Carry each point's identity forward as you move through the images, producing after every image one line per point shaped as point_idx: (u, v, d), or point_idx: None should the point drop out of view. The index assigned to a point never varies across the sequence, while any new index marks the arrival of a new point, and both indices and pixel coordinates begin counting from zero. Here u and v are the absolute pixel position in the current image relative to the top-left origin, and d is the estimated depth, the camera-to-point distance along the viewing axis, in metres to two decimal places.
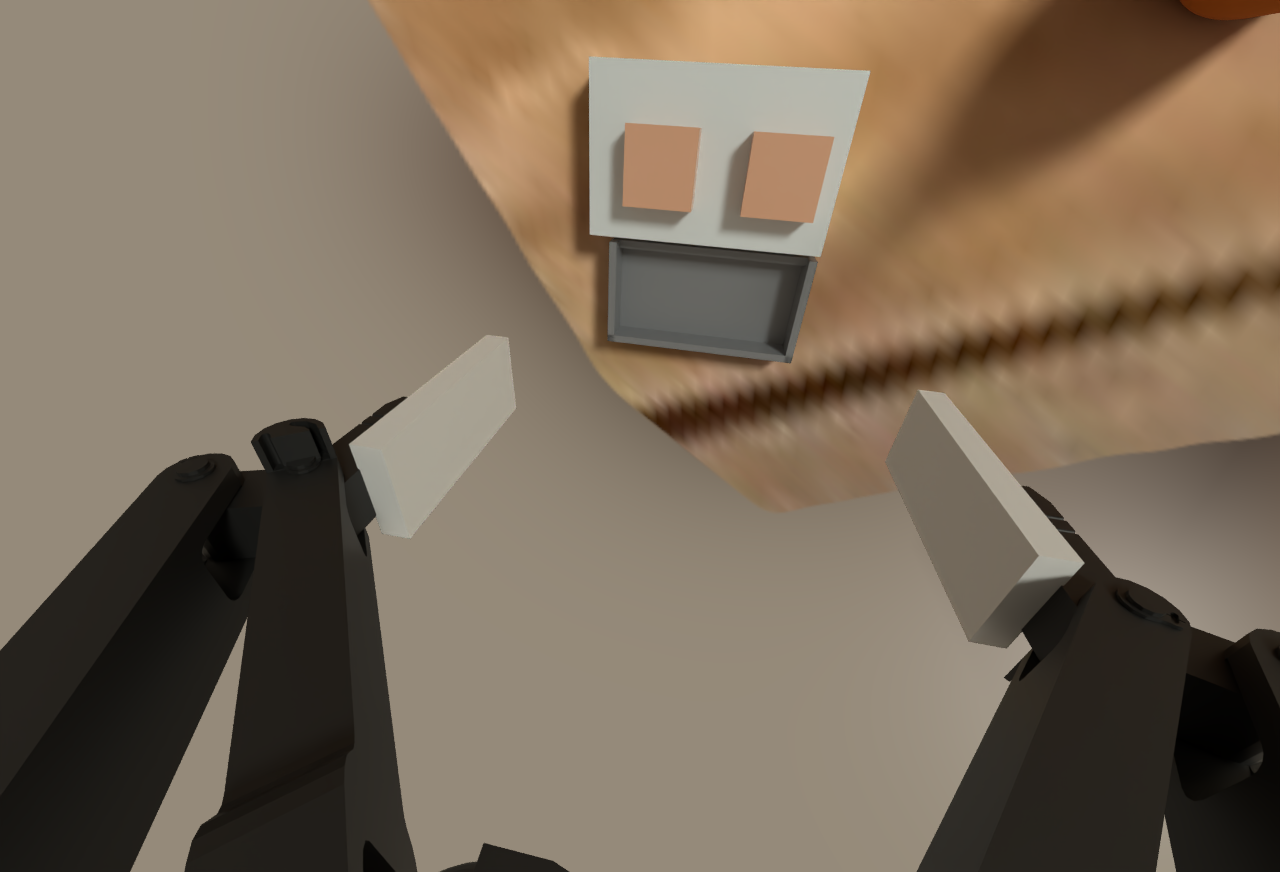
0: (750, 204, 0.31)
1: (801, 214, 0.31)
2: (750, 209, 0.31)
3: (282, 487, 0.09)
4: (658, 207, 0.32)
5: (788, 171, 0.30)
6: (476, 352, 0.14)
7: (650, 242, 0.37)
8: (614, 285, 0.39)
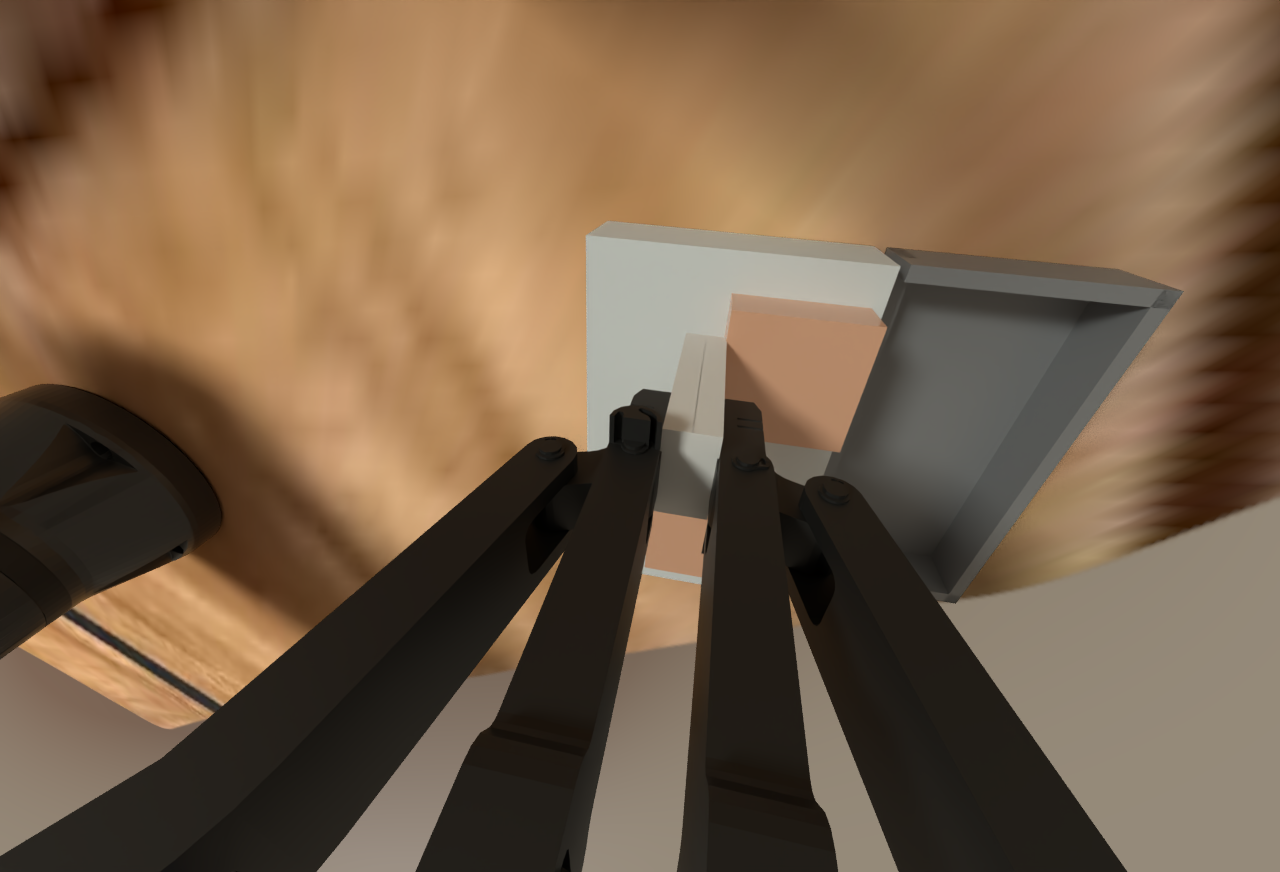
0: (822, 437, 0.17)
1: (862, 351, 0.15)
2: (830, 437, 0.17)
3: (615, 460, 0.10)
4: None
5: (777, 381, 0.16)
6: (692, 348, 0.15)
7: None
8: None
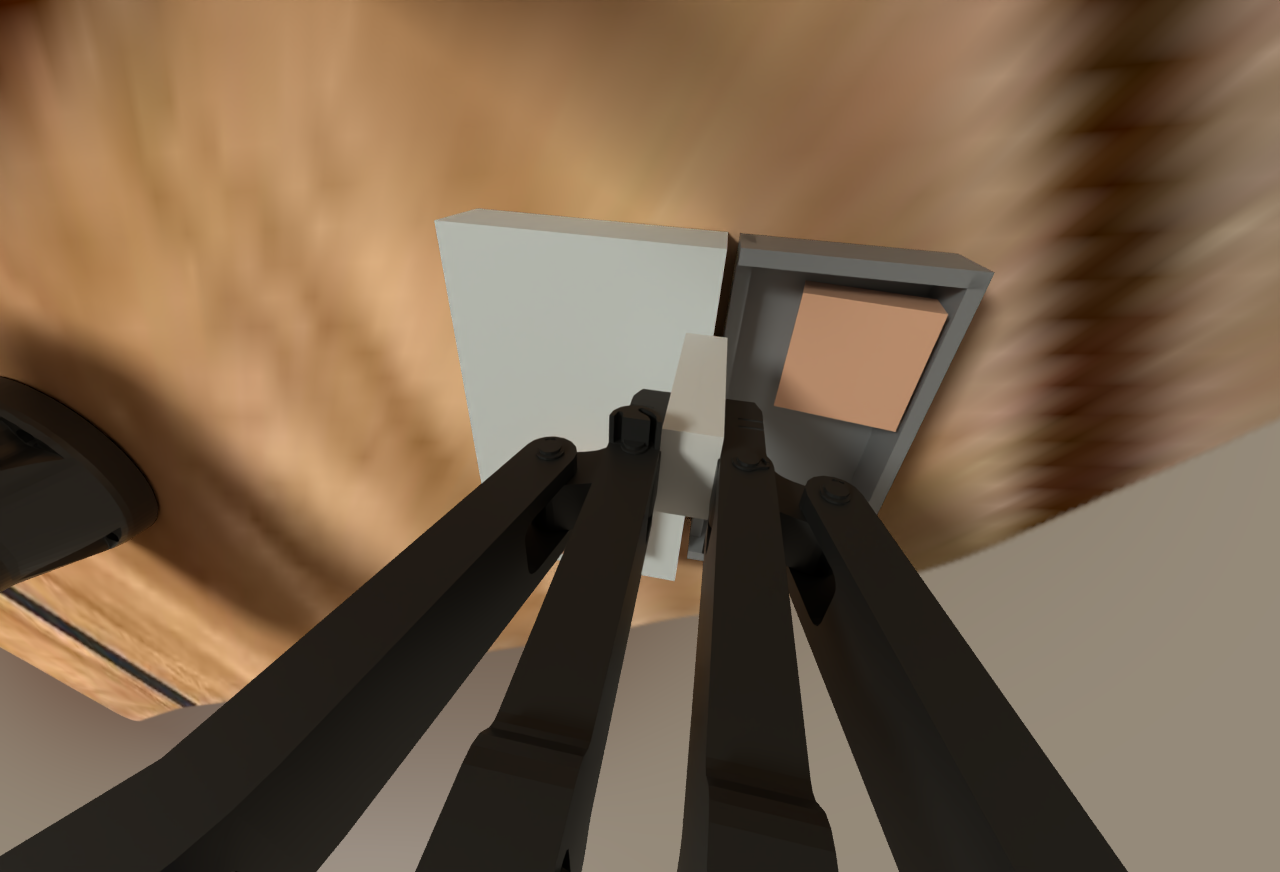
0: None
1: None
2: None
3: (614, 460, 0.10)
4: None
5: None
6: (692, 348, 0.15)
7: None
8: None
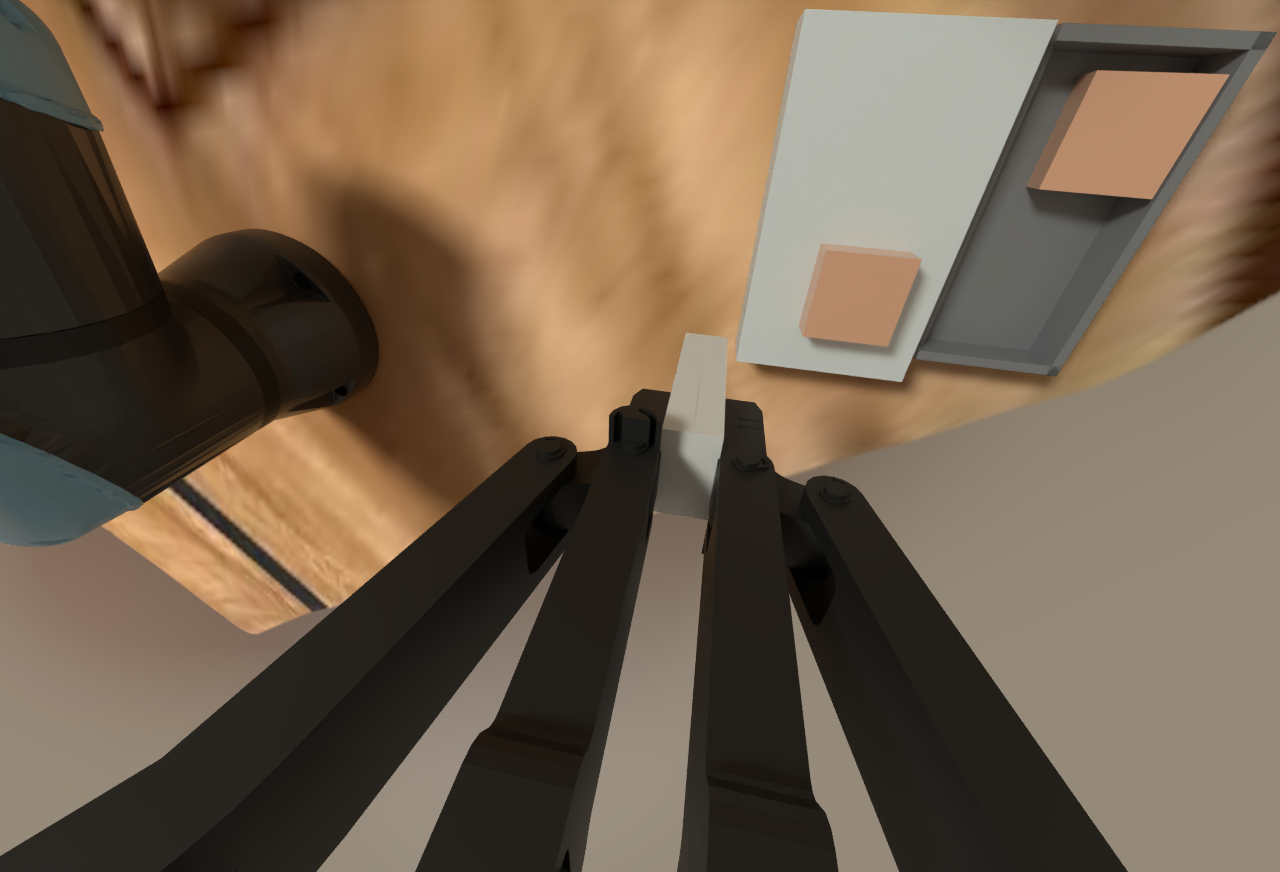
0: None
1: None
2: None
3: (614, 460, 0.10)
4: (902, 302, 0.26)
5: None
6: (692, 348, 0.15)
7: None
8: (975, 358, 0.29)
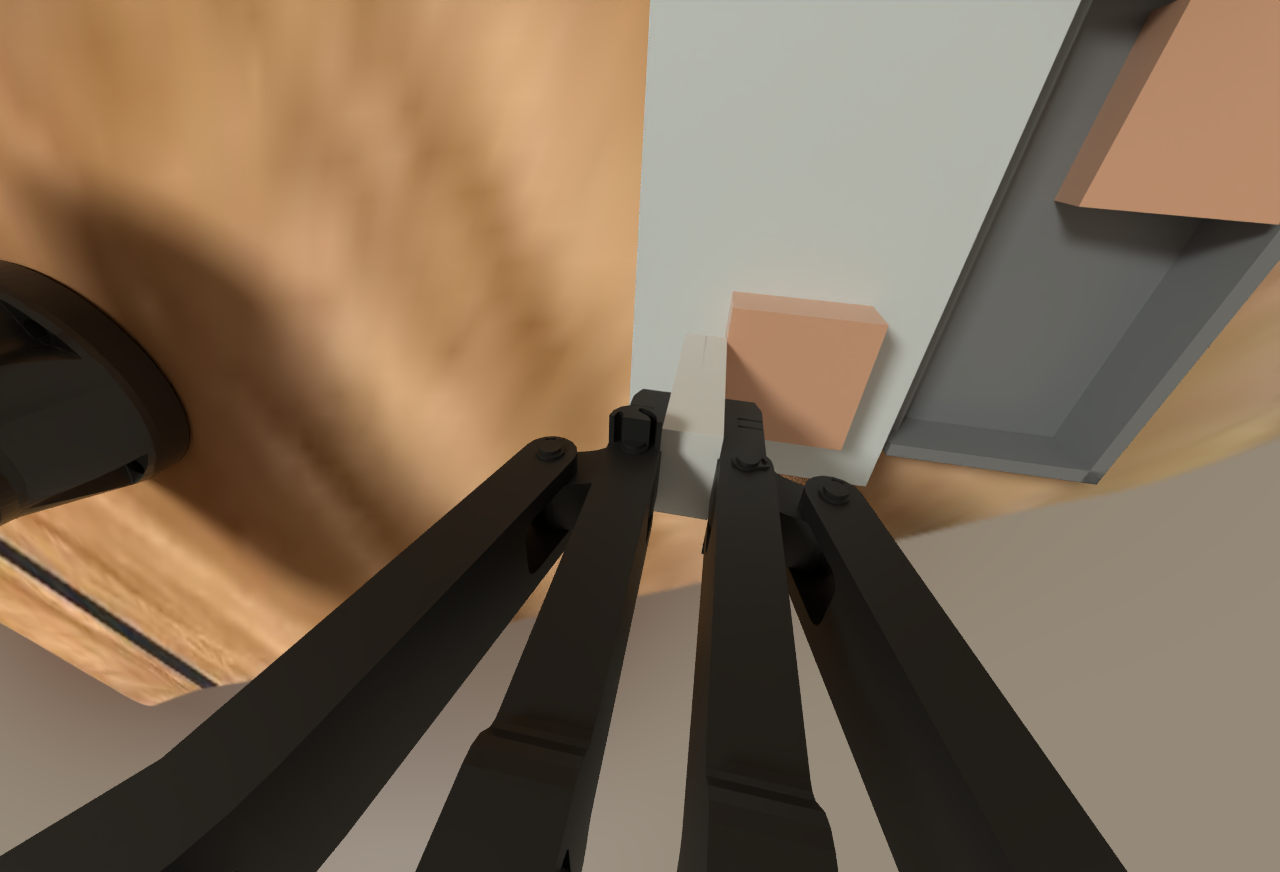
0: None
1: None
2: None
3: (614, 460, 0.10)
4: (860, 389, 0.16)
5: None
6: (692, 348, 0.15)
7: None
8: (974, 456, 0.19)
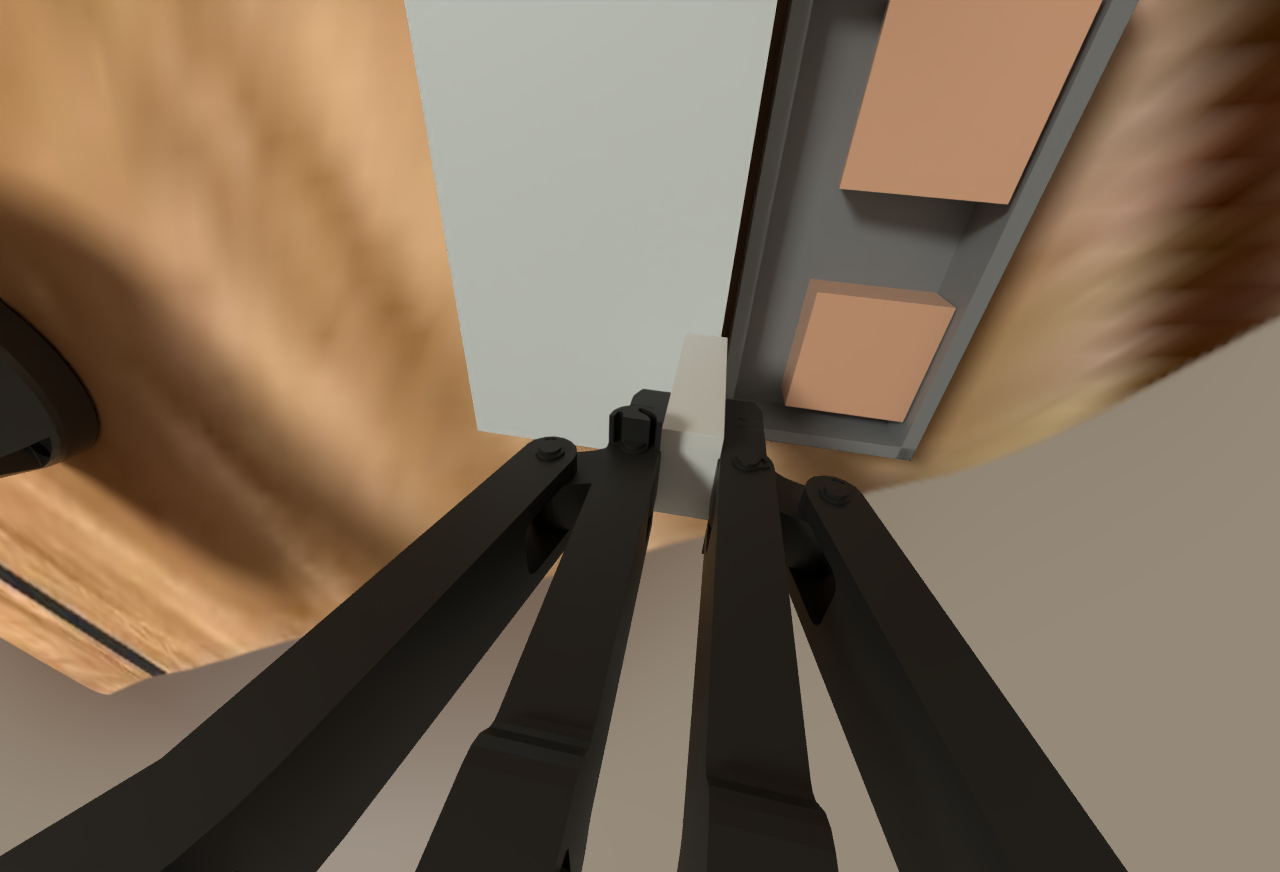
0: None
1: None
2: None
3: (614, 460, 0.10)
4: None
5: None
6: (692, 348, 0.15)
7: (728, 356, 0.20)
8: (795, 434, 0.20)
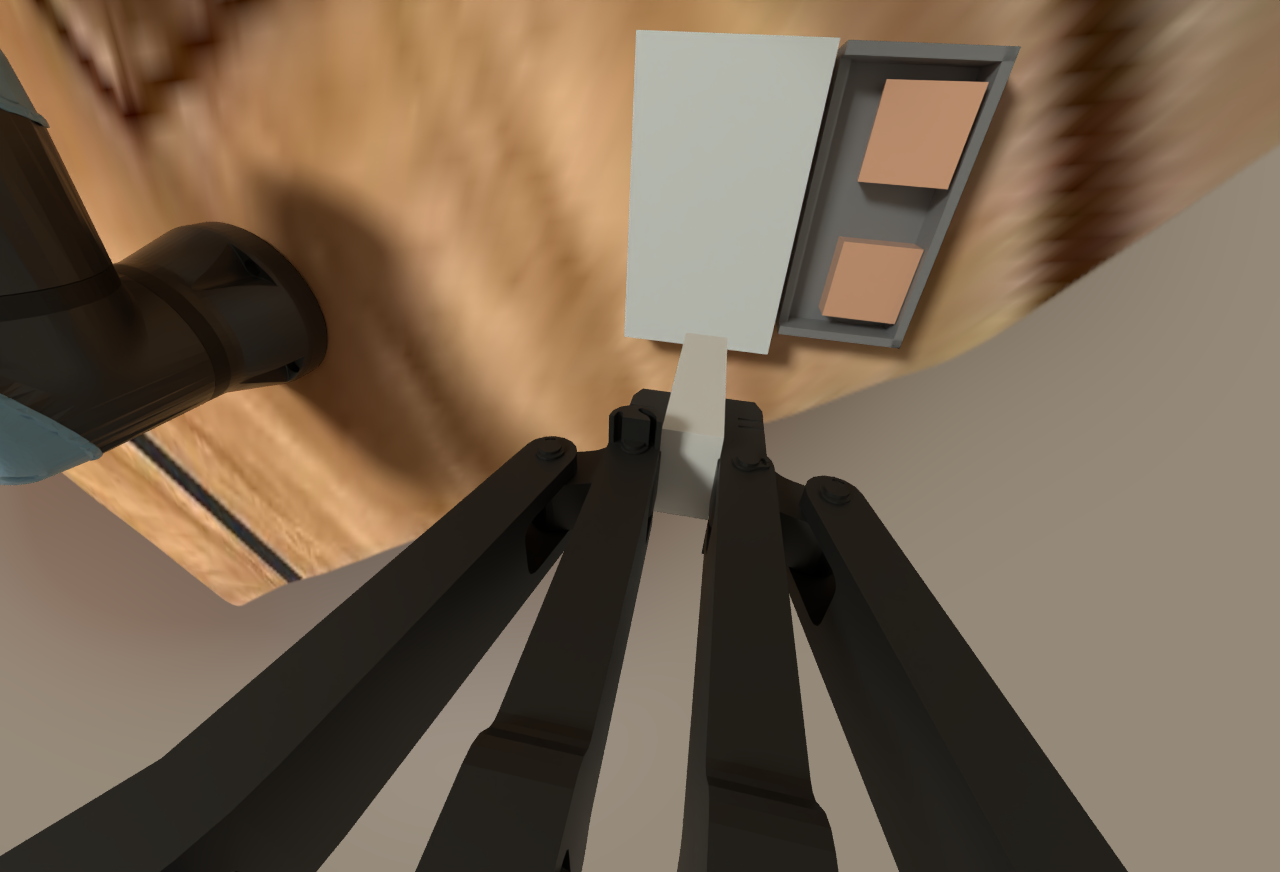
0: None
1: None
2: None
3: (614, 460, 0.10)
4: None
5: None
6: (692, 348, 0.15)
7: (787, 285, 0.33)
8: (828, 332, 0.33)
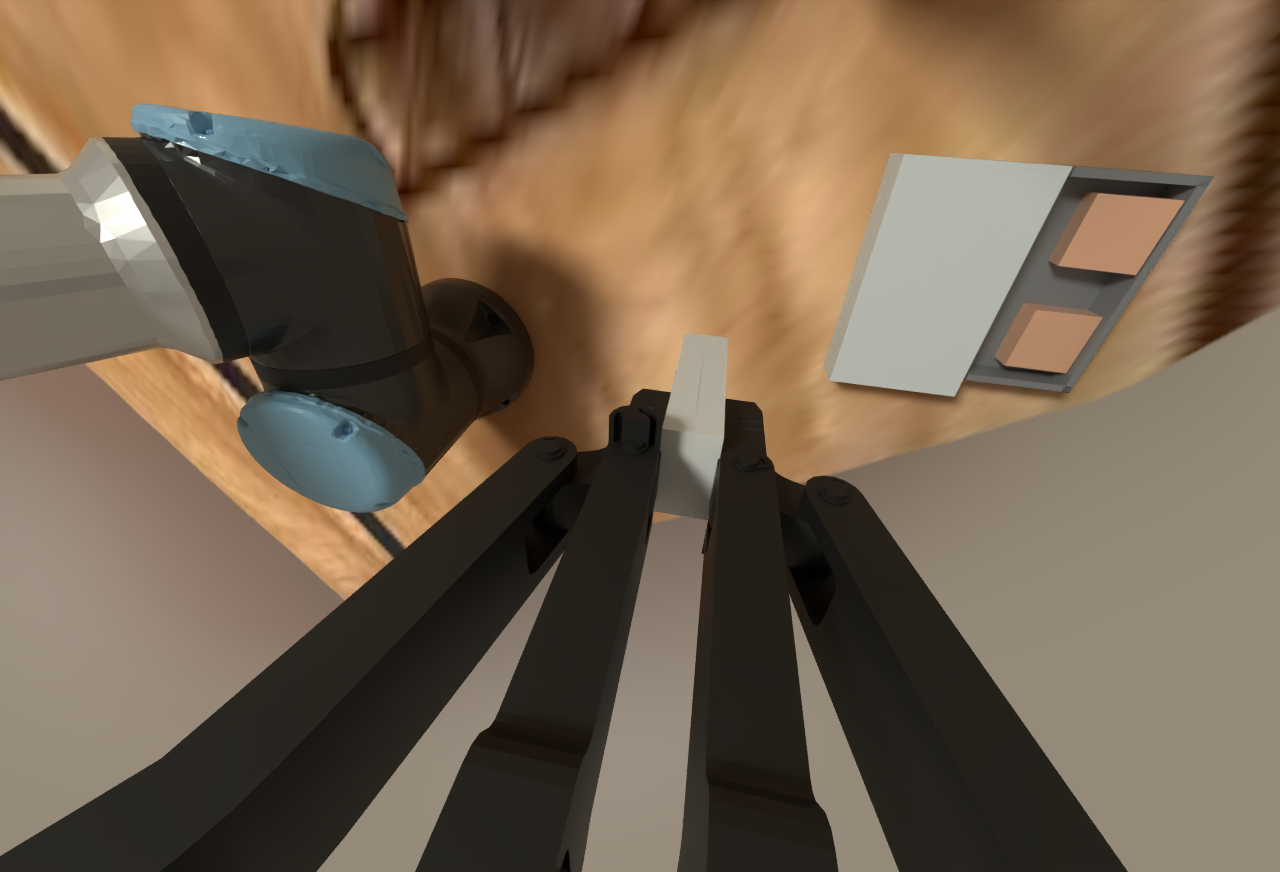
0: None
1: None
2: None
3: (614, 460, 0.10)
4: None
5: None
6: (692, 348, 0.15)
7: None
8: (1009, 379, 0.40)
